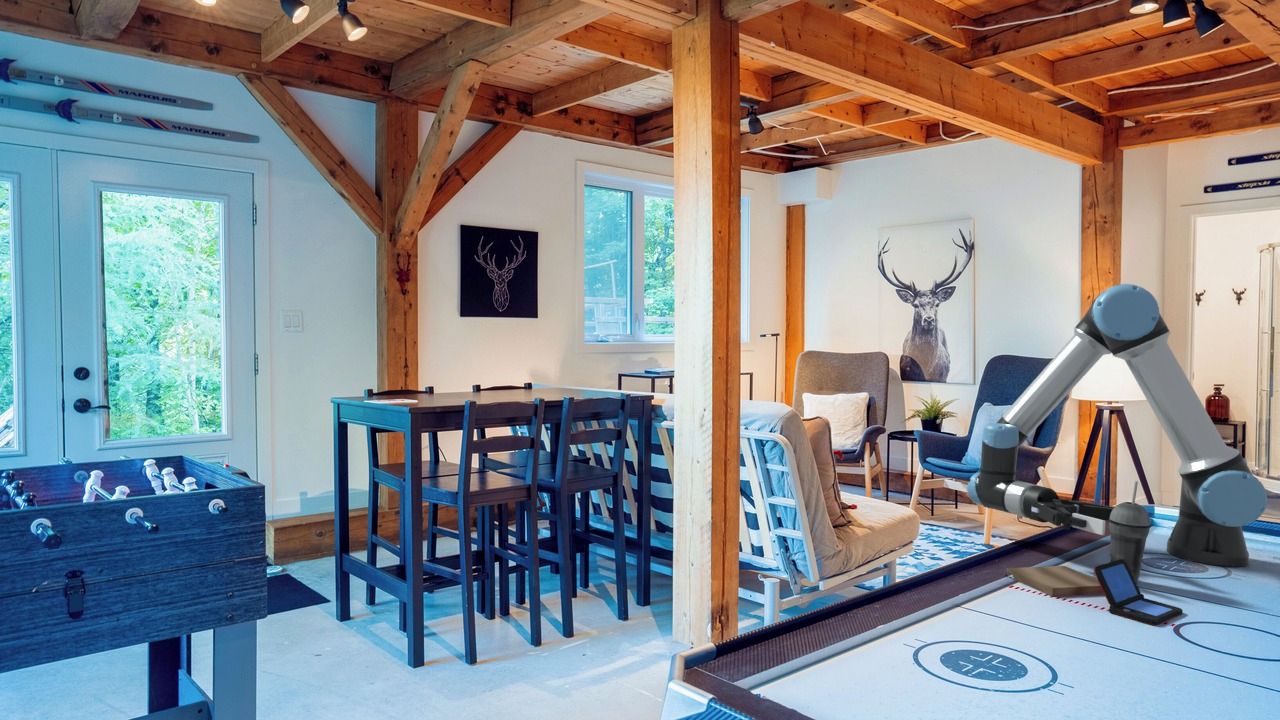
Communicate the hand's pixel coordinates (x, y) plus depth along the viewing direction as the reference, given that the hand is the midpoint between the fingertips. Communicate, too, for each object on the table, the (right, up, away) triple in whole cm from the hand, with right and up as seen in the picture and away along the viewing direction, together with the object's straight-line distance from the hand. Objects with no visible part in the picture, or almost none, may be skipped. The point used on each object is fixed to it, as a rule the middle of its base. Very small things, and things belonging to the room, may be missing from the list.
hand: (1126, 525), depth 165 cm
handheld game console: (-8, -12, -17) cm, 22 cm away
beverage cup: (0, -11, +1) cm, 11 cm away
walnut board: (-15, -10, -4) cm, 19 cm away
